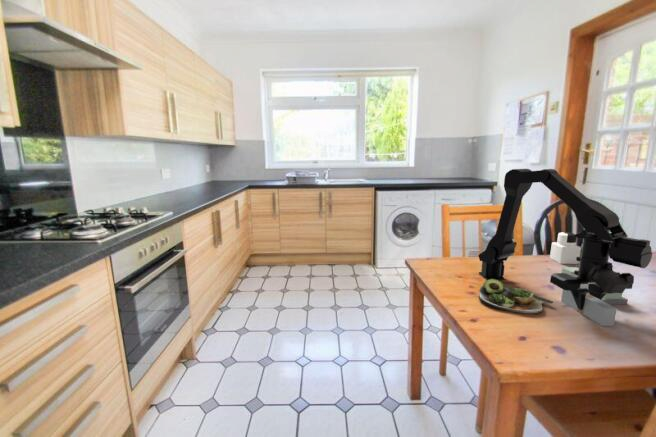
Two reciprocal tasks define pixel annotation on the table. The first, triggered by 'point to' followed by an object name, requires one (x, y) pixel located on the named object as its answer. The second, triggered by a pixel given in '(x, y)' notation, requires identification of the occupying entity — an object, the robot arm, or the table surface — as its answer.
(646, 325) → the table surface
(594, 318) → the banded grey bar
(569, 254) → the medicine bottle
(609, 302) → the display stand
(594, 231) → the robot arm
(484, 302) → the salad plate
